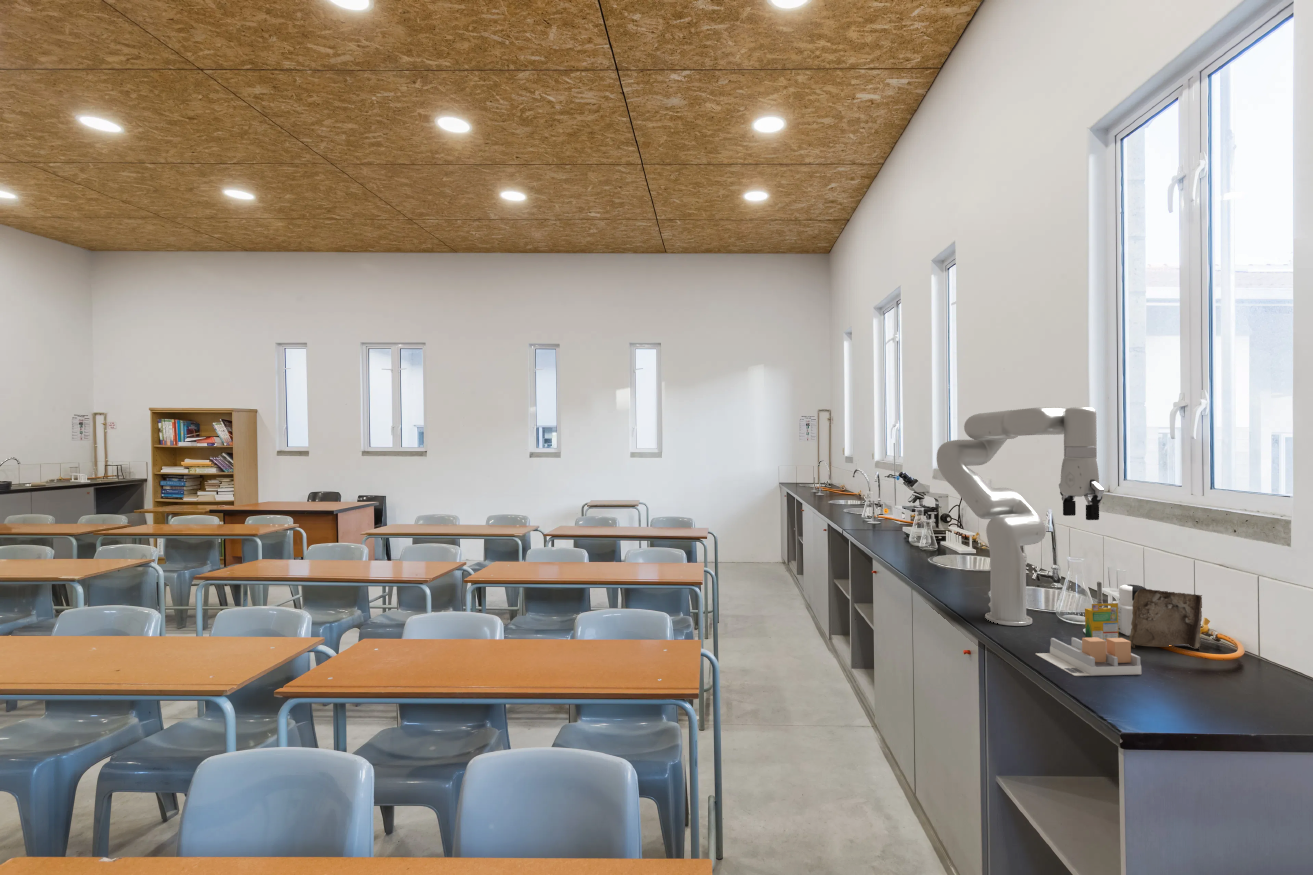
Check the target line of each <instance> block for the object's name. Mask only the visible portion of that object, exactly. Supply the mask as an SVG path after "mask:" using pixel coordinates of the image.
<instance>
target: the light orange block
mask: <svg viewBox="0 0 1313 875" xmlns="http://www.w3.org/2000/svg"><path fill="white" fill-rule="evenodd" d="M1128 640H1129V639H1126V638H1124V637H1119V638H1106V652H1107V653H1109V654H1111V655H1113V656H1115V657H1117V658H1118V663H1130V662H1131V653H1132V646H1131V641H1128Z"/></svg>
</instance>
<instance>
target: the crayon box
mask: <svg viewBox="0 0 1313 875" xmlns="http://www.w3.org/2000/svg"><path fill="white" fill-rule="evenodd" d="M1104 606H1106V607H1104ZM1084 624H1085V626H1084V627H1085V628H1084V629H1085V633H1084V635H1085V637H1084V638H1092V637H1098V638H1100V639H1102V640H1105V641H1106V638H1120V637H1119V636H1120V635H1119V631H1118V603H1112V602H1111V603H1109V602H1108V603H1107V602H1105V603H1104V602H1103V603H1091V608H1087V607H1086V608H1084Z"/></svg>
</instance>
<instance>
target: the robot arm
mask: <svg viewBox="0 0 1313 875" xmlns="http://www.w3.org/2000/svg"><path fill="white" fill-rule="evenodd" d="M963 429H964V432H965V434H966V435H967V436H968V437H969V439H953V440H949V441H946V442H943V443H942V444H941V445H940V446H939V447H938V449H937V452H936V463H937V468H938V470H939V473H940V475H941V476H942V477H943V479H944V480H945V481H946V482H947V483H948V484H949V486H951V487H952V488H953V489H954V490H955V491H956V493H957V494H958V495H959V496H960V498H961V499H962V500H963V502H964V503H965V504H966V505H967V507H968V508H969V509H970V510H971V511H972V513H973V514H975V516H976V517H978V518H979V519H980V520H988V522H987V524H986V530H985V532H986V533H985V534H986V538H987V543H988V548H989V567H990V571H989V573H990V574H989V575H990V579H989V581H990V602H989V603H988V606H989V608H990V612H986V613H985V615H984V619H985V618H986V619H987V620H986V619H985V620H986V621H988V620H989V621H988V622H990V621H991V622H990V623H993V622H994V624H997V623H998V625H1003V626H1012V627H1022V626H1023V627H1024V626H1029V625H1032V623H1033V618H1032V617H1031V616H1029V615H1027V563H1026V558H1025V555H1024V553H1023V551H1022V548H1021V546H1032V545H1037V544H1039V543H1041V541H1043V540H1044V539H1045V536H1046V534H1047V532H1046V530H1047V529H1046V524H1045V523H1044V521H1043V519H1042V517H1041V516H1040V515H1039V514H1038V513H1037V512H1036V511H1035V510H1034V508H1033V507H1032V506H1031V504H1029V503H1028V501H1027V500H1025V498H1024V497H1023V496H1022V495H1021V494H1020V493H1019V492H1017V491H1016V490H1014V489H1012V488H1009V487H992V486H990V485H989V484H988V483H987V482H986V481H985V480H984V479H983V477H981V476H980V475H979V473H977V472H976V471H975V470H973V469H971V468H969V467H972V466H973V467H974V466H983V465H985V464H987V463H989V462H990V461H991V460H992V459H993V458H994V457H995V455H996V454H997V453H998V451H999V450H1000V449H1001V448H1002V447H1003V445H1004V444H1005V443H1006V442H1007V440H1014V439H1016V438H1018V437H1020V436H1022V437H1023V436H1025V437H1026V436H1043V435H1044V436H1045V435H1048V436H1049V435H1054V436H1055V435H1058V436H1059V435H1063V459H1062V461H1061V462H1062V463H1061V470H1060V481H1059V482H1060V483H1059V484H1058V488H1059V495H1061V501H1062V516H1065V517H1066V516H1068V517H1069V516H1071V517H1072V516H1076V514H1077V513H1076V511H1077V510H1076V509H1077V508H1076V500H1075V498H1076V497H1078V498H1082V497H1084V500H1085V501H1086V504H1085V520H1086V521H1099V520H1100V505H1101V503H1102V502H1101V501H1102V500H1103V495H1104V493H1105V489H1104V488H1103V487H1102V486H1101V485H1100V477H1099V476H1100V474H1099V468H1098V467H1099V466H1098V460H1097V458H1098V457H1097V453H1098V452H1097V448H1098V447H1097V446H1098V444H1097V441H1098V440H1097V438H1098V437H1097V435H1098V434H1097V410H1096V409H1095V408H1093V407H1087V406H1086V407H1085V406H1084V407H1082V406H1079V407H1076V406H1075V407H1047V406H1045V407H1029V408H1020V409H1019V408H1018V409H1010V410H1009V409H1008V410H999V411H993V412H992V411H991V412H981V413H976V414H973V415H970V416H969V417H968V418H967V419H966V421H965V422H964V425H963Z"/></svg>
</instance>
